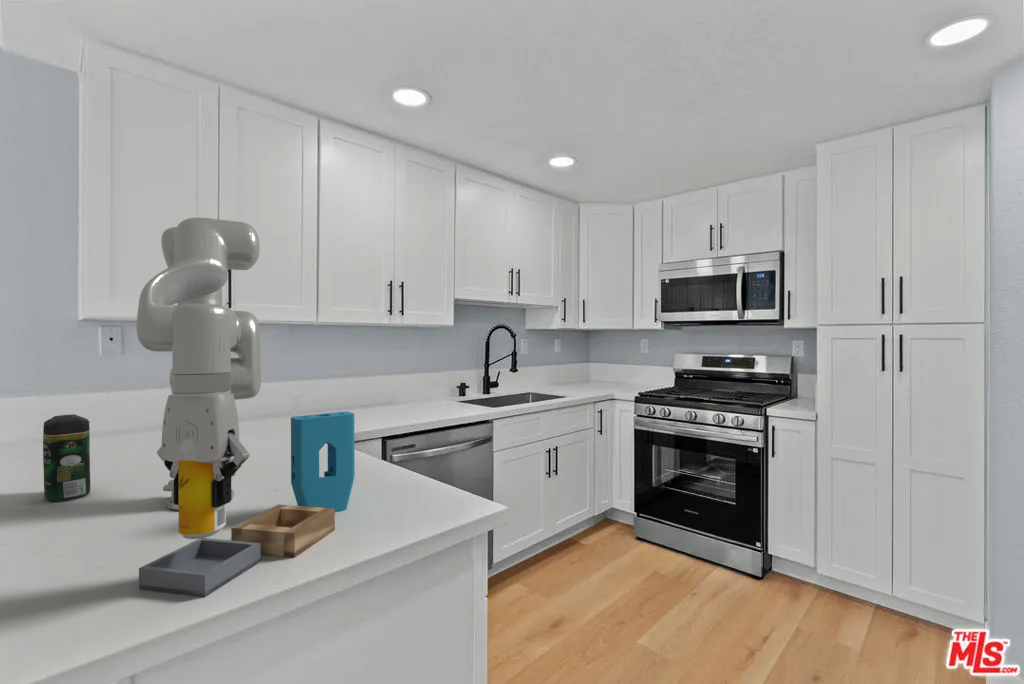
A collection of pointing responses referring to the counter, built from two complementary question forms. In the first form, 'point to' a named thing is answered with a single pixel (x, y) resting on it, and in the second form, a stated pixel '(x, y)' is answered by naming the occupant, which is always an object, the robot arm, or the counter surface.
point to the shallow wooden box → (286, 529)
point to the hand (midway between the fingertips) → (202, 502)
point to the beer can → (197, 496)
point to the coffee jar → (66, 457)
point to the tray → (199, 567)
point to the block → (305, 448)
